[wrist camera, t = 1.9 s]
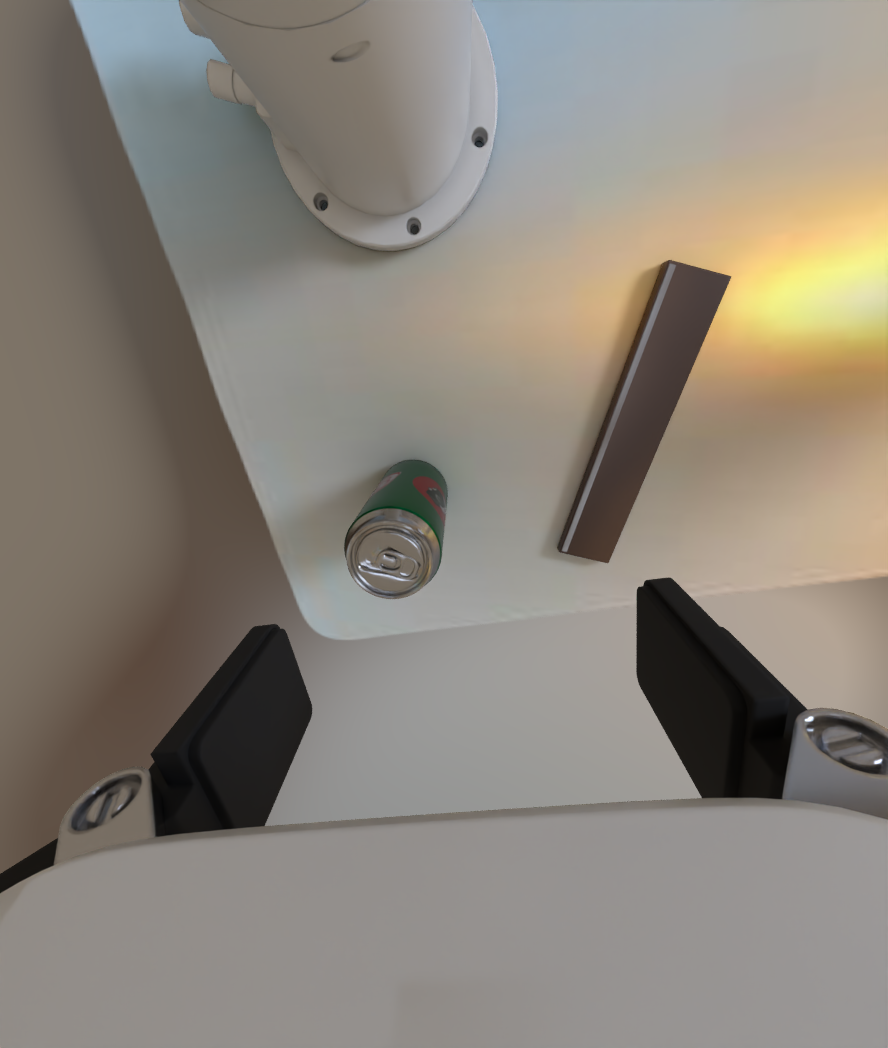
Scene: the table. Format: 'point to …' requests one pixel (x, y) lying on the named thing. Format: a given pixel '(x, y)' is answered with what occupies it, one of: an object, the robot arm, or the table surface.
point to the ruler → (642, 406)
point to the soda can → (399, 532)
